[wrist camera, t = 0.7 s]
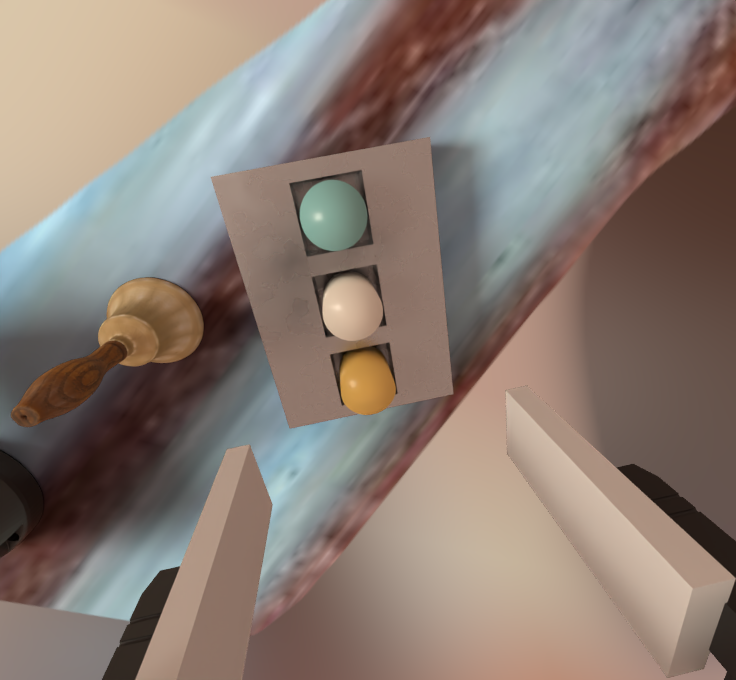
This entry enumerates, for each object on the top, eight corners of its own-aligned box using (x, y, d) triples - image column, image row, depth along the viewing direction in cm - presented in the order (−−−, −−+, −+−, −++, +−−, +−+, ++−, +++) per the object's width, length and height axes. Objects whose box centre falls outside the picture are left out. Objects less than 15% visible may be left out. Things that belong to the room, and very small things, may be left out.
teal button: (311, 248, 29) (308, 256, 25) (297, 188, 27) (292, 186, 23) (365, 237, 29) (372, 244, 25) (355, 177, 27) (361, 173, 23)
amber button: (344, 393, 34) (346, 419, 30) (334, 350, 33) (335, 372, 28) (390, 383, 35) (399, 408, 30) (383, 340, 33) (391, 361, 29)
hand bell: (129, 259, 31) (-54, 314, 16) (219, 308, 33) (133, 395, 18) (94, 335, 33) (-96, 445, 18) (181, 375, 35) (77, 502, 20)
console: (293, 403, 38) (289, 428, 33) (227, 180, 29) (210, 177, 25) (439, 372, 38) (453, 394, 34) (415, 145, 30) (429, 137, 26)
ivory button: (329, 326, 32) (329, 346, 28) (317, 276, 30) (316, 289, 26) (379, 316, 32) (387, 334, 28) (370, 266, 30) (377, 277, 26)
